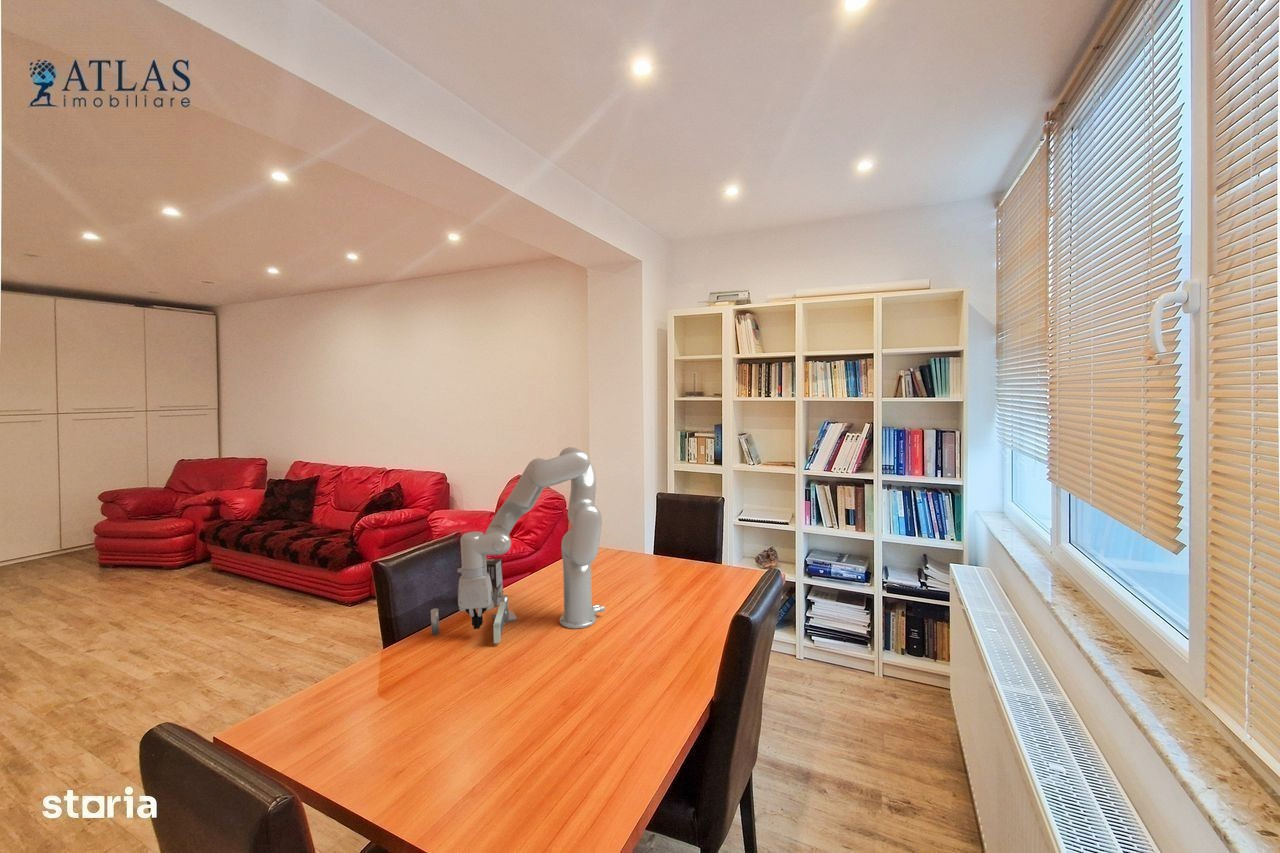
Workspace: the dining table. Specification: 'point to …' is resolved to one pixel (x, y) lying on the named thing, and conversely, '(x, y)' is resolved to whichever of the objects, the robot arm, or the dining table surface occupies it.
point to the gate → (499, 622)
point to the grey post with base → (506, 610)
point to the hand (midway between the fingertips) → (477, 627)
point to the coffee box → (495, 578)
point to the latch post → (435, 621)
